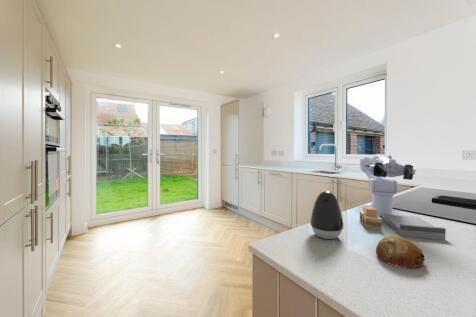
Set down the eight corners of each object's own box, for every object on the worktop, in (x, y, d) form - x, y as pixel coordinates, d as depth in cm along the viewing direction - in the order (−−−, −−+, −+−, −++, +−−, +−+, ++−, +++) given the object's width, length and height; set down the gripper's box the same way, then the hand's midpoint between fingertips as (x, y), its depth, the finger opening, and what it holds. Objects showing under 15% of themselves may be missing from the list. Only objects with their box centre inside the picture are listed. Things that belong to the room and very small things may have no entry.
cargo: (363, 212, 86) (363, 206, 86) (373, 213, 85) (373, 207, 85) (366, 215, 82) (366, 209, 82) (377, 216, 81) (377, 209, 81)
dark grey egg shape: (307, 239, 71) (308, 193, 70) (313, 228, 80) (313, 187, 80) (342, 245, 66) (343, 195, 66) (343, 233, 76) (344, 189, 75)
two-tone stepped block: (359, 220, 89) (359, 210, 89) (373, 221, 88) (373, 211, 88) (366, 228, 80) (366, 218, 79) (381, 230, 78) (381, 219, 78)
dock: (382, 218, 90) (382, 210, 90) (417, 221, 87) (417, 212, 87) (401, 235, 73) (401, 225, 73) (445, 239, 70) (445, 228, 69)
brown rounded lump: (386, 261, 64) (372, 234, 66) (428, 256, 58) (412, 226, 60) (381, 276, 56) (367, 245, 58) (430, 273, 50) (411, 238, 52)
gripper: (368, 155, 91) (376, 162, 78) (410, 158, 86) (425, 166, 73) (366, 171, 92) (373, 181, 80) (407, 175, 87) (421, 186, 75)
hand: (398, 175), depth 77 cm, fingers open, 7 cm apart
